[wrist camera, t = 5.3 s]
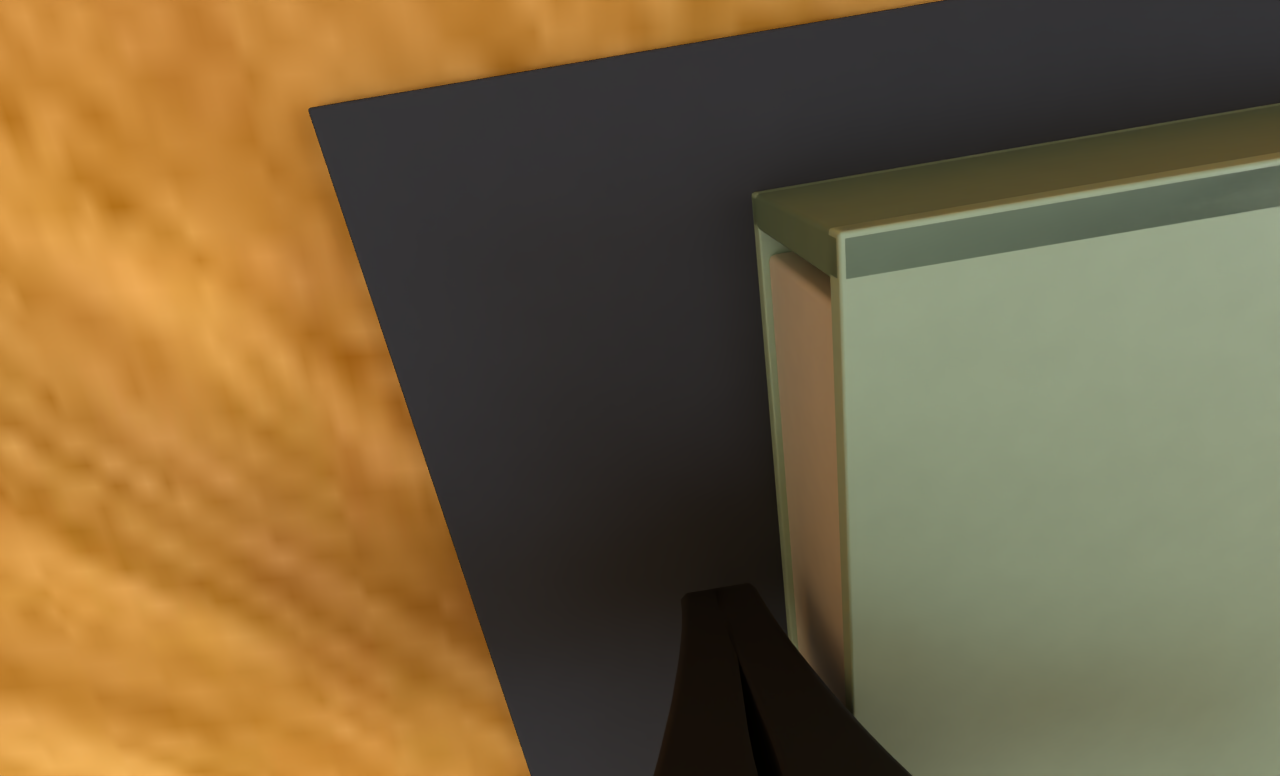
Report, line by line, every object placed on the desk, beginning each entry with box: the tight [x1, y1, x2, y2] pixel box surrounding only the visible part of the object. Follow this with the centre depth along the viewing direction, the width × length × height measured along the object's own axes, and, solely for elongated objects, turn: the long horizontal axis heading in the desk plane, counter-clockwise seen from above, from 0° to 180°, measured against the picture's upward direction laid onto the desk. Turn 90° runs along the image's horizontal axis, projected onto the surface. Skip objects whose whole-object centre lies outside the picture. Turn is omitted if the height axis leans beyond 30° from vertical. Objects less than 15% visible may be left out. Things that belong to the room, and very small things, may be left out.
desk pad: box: [309, 0, 1280, 776], centre depth 12 cm, size 18×18×1 cm
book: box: [752, 103, 1280, 776], centre depth 10 cm, size 10×14×4 cm
